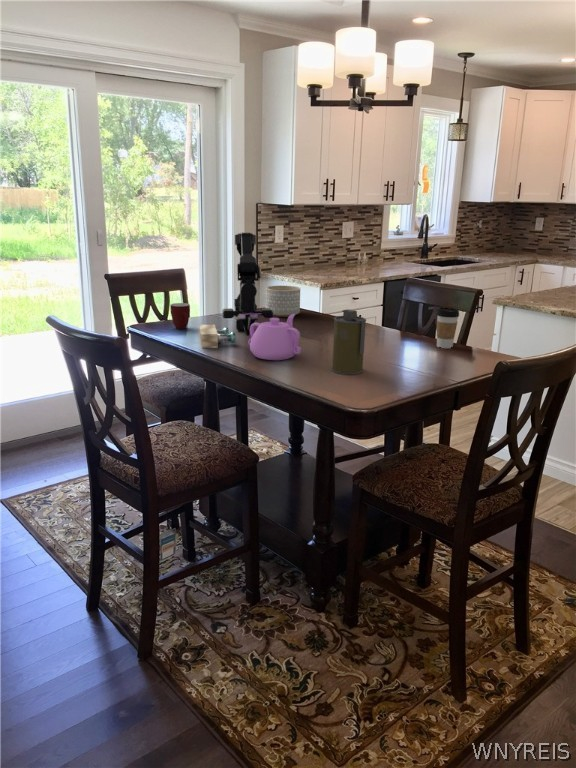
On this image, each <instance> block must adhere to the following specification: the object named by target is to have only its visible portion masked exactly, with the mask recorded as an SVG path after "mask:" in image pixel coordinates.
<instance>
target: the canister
mask: <svg viewBox="0 0 576 768" xmlns="http://www.w3.org/2000/svg"><path fill="white" fill-rule="evenodd" d="M333 321H334V322H333V342H332V343H333V346H332V347H333V348H332V365H331V371H332V372H333V373H336V374H338V375H339V374H341V375H349V376H351V375H352V376H353V375H359V374H362V373H363V371H364V369H363V368H364V366H363V365H364V354H365V340H366V338H365V336H366V322H367V319H366V318H365V317H362V316H358V312H357V310H355V309H348V308H347V309H343V310H342V315H338V316H334V318H333Z"/></svg>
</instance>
